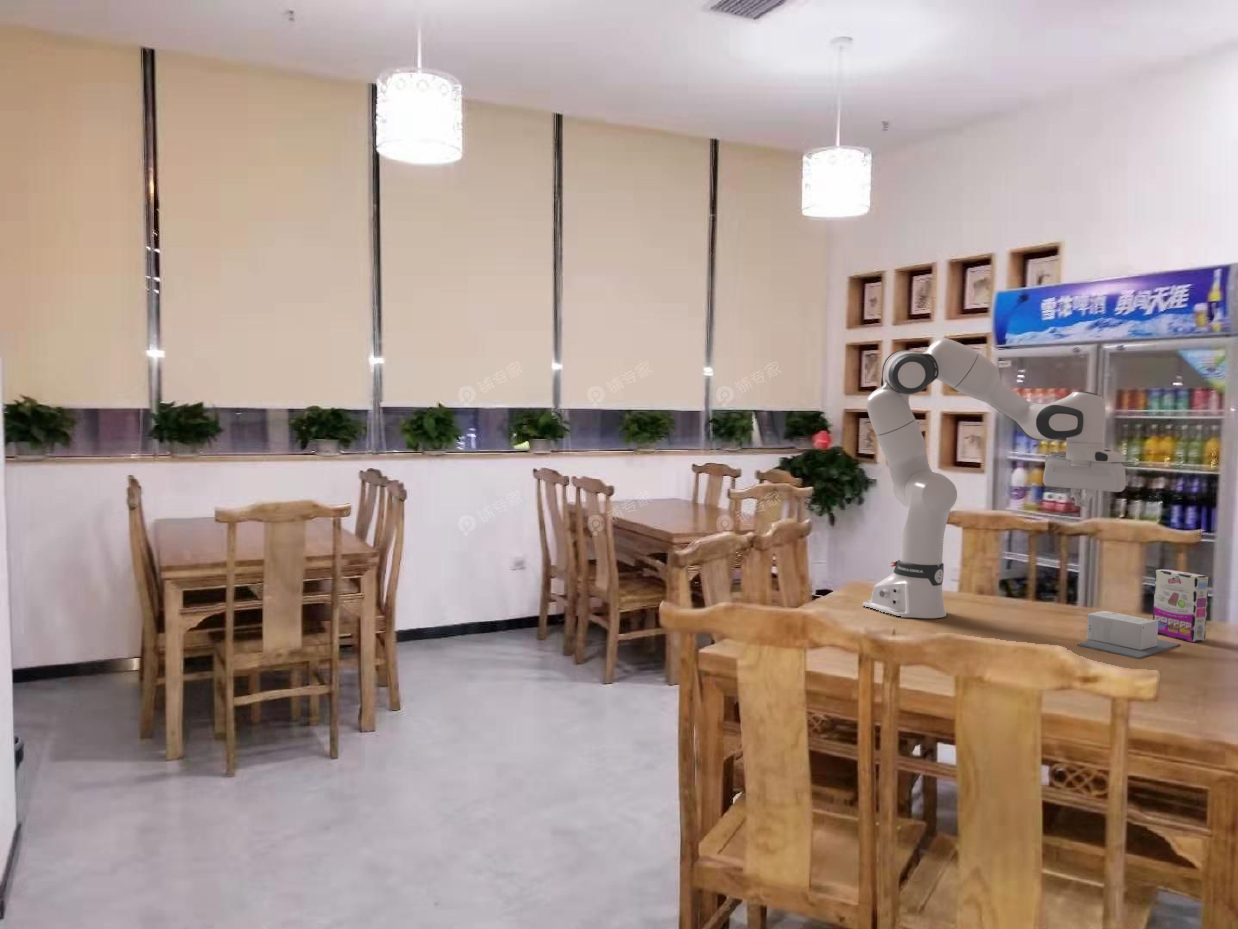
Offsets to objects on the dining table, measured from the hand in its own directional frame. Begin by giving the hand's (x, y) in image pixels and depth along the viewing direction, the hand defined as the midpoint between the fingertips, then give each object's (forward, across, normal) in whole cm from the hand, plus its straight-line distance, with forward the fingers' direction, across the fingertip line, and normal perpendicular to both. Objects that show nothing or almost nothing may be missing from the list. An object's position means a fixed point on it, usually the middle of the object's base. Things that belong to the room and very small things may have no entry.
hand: (1081, 506), depth 244 cm
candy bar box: (+31, +22, +8) cm, 39 cm away
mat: (+31, +19, -12) cm, 38 cm away
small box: (+28, +11, -12) cm, 32 cm away
